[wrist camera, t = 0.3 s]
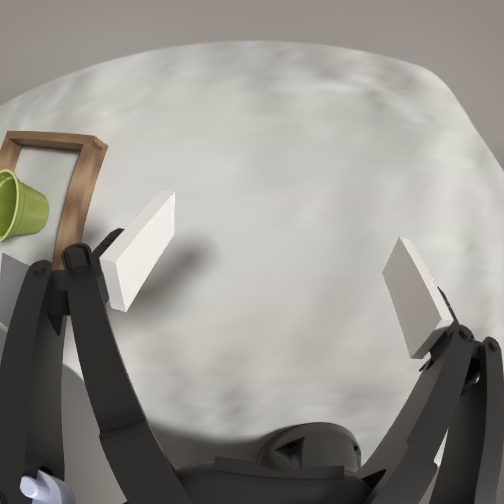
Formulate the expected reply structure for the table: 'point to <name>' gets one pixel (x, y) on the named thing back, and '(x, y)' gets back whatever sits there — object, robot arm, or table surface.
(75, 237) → the walnut bay
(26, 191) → the plant pot
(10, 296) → the charcoal mat
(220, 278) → the table surface
